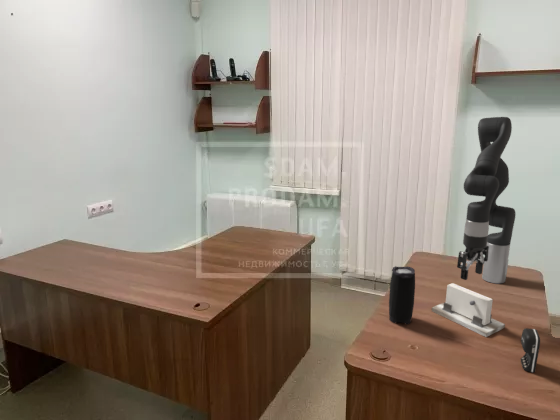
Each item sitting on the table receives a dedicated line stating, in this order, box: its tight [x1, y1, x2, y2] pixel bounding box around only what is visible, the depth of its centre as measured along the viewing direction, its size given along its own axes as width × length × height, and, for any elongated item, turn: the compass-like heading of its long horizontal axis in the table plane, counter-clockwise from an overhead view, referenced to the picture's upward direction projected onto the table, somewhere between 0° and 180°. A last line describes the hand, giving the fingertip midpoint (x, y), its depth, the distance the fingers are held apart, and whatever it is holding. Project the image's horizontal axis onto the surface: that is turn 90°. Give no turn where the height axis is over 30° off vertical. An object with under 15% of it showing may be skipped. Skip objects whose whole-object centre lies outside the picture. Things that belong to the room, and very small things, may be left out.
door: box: [445, 282, 494, 325], centre depth 155 cm, size 4×16×9 cm, turn 33°
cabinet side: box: [431, 301, 506, 338], centre depth 156 cm, size 11×22×4 cm, turn 33°
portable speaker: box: [388, 265, 416, 325], centre depth 154 cm, size 9×9×20 cm
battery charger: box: [520, 327, 541, 374], centre depth 128 cm, size 7×4×11 cm, turn 160°
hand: (471, 276), depth 152 cm, fingers open, 8 cm apart
